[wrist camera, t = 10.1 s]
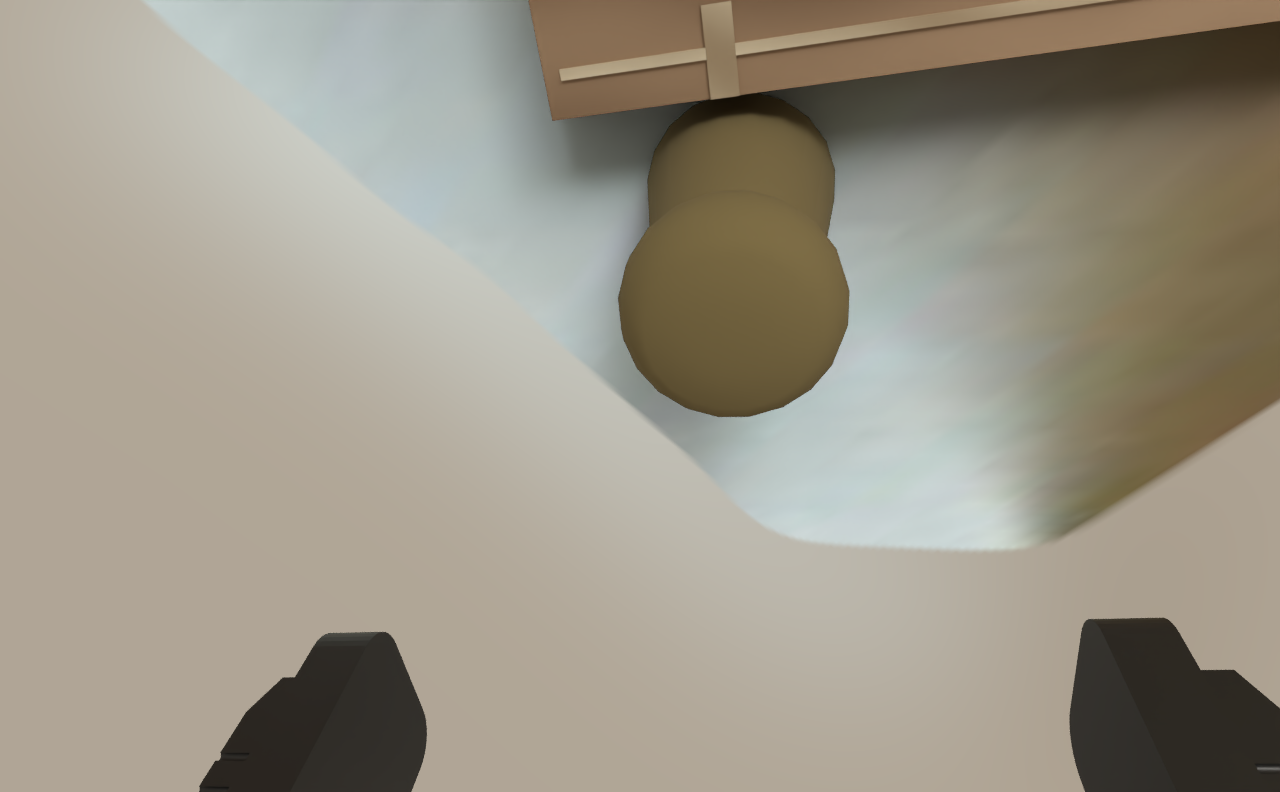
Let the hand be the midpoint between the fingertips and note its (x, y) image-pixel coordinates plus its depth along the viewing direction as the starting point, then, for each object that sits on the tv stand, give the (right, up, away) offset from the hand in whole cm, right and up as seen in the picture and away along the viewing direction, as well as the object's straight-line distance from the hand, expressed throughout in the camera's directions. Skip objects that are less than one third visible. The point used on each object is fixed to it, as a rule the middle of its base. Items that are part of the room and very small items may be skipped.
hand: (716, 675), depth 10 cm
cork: (+2, +10, +17) cm, 20 cm away
